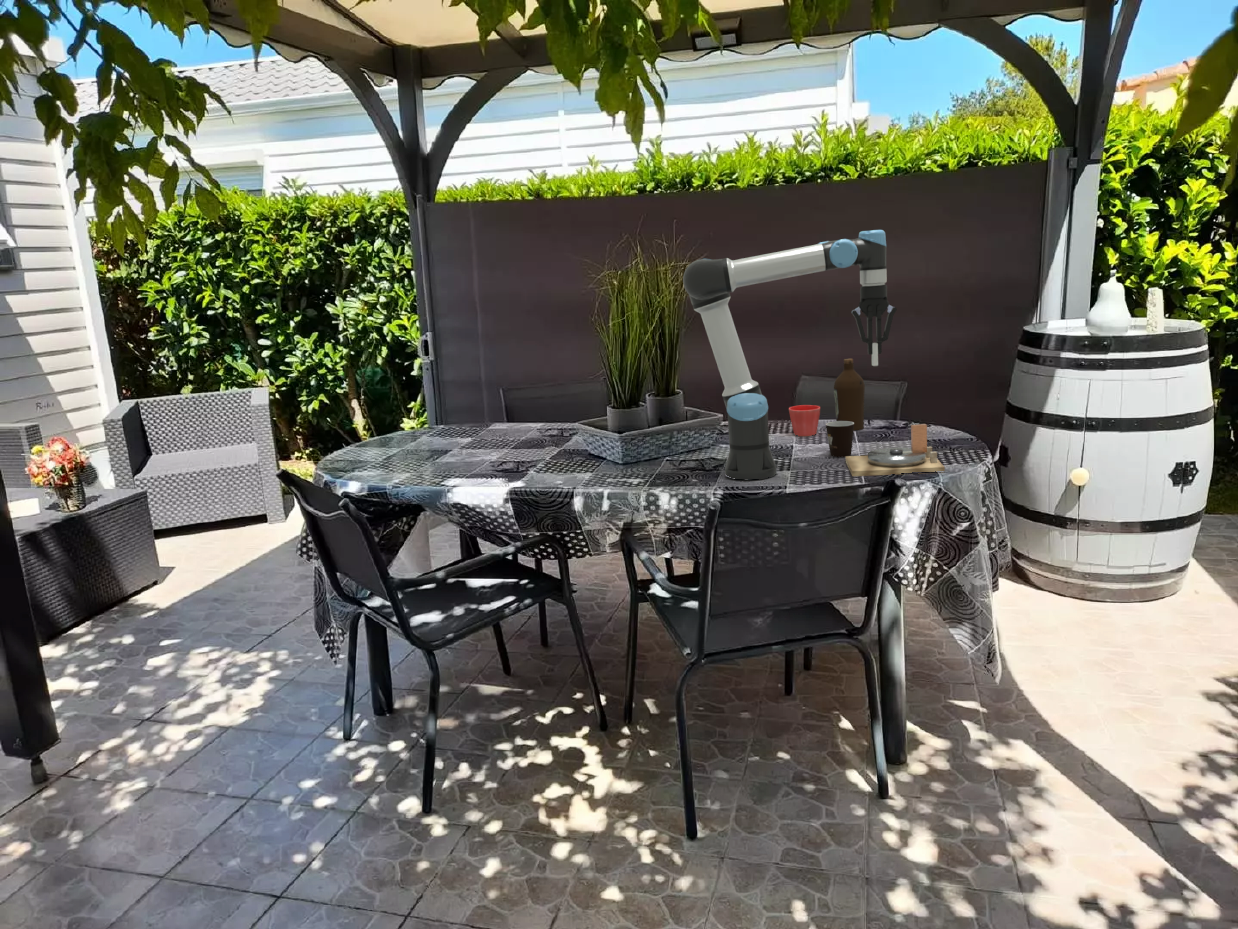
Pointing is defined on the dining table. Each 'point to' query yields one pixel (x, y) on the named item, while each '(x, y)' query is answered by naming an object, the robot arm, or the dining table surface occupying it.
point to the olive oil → (849, 396)
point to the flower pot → (804, 419)
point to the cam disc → (903, 451)
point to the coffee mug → (840, 438)
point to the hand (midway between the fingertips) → (874, 365)
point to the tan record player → (864, 468)
